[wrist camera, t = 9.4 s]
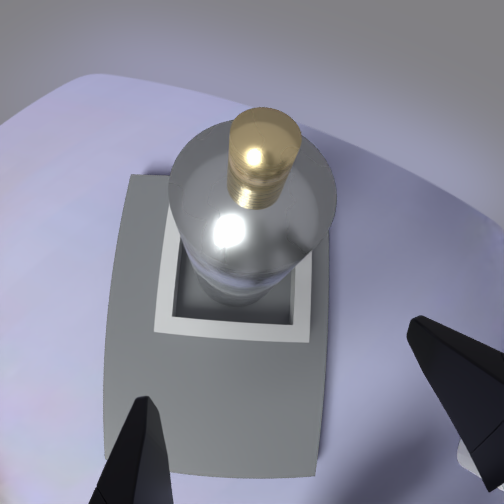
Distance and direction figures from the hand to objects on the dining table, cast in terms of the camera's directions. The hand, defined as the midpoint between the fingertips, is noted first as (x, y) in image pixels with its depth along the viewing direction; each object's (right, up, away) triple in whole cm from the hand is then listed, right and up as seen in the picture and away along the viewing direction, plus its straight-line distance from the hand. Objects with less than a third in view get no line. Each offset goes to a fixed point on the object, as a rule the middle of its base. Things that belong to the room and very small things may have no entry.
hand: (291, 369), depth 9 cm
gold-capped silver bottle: (-2, +3, +10) cm, 11 cm away
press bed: (-4, -1, +11) cm, 11 cm away
